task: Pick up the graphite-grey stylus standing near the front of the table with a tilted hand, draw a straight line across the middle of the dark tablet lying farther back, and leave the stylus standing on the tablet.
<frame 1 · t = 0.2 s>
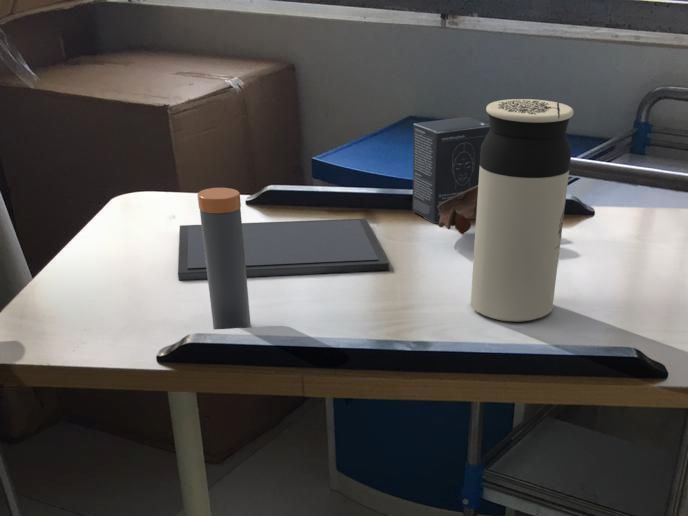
travel mug: (510, 310, 87), on the table
brown jagged lump: (489, 246, 102), on the table
stylus: (232, 328, 82), on the table
box: (448, 215, 112), on the table
tablet: (280, 250, 99), on the table
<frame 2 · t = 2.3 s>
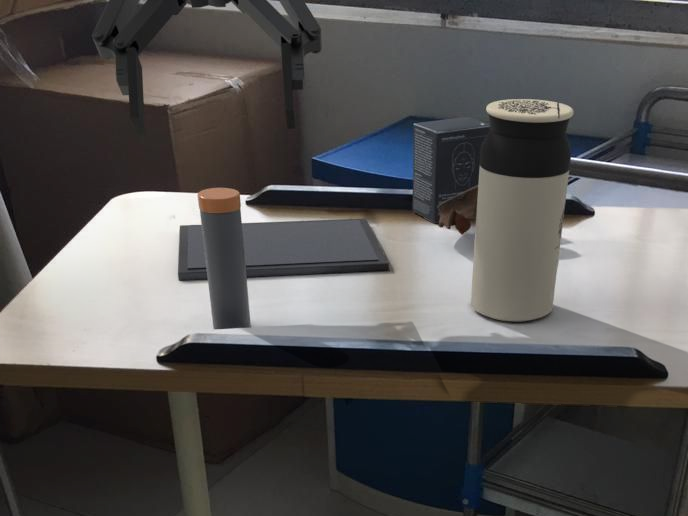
hand: (214, 123, 80), 16 cm above the table, tool tilted 45°, fingers open, 13 cm apart
nothing on the table moved.
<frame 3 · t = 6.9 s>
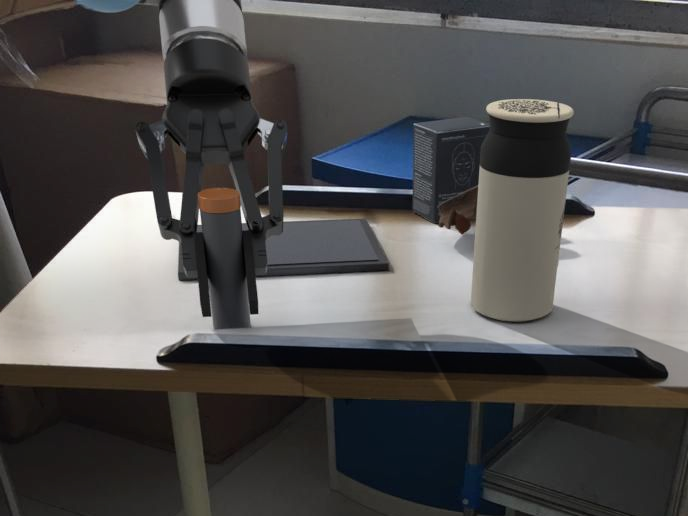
hand: (230, 308, 77), 3 cm above the table, tool tilted 45°, fingers closed on stylus, 3 cm apart
stylus: (232, 328, 82), on the table, touching gripper
everything else where it was.
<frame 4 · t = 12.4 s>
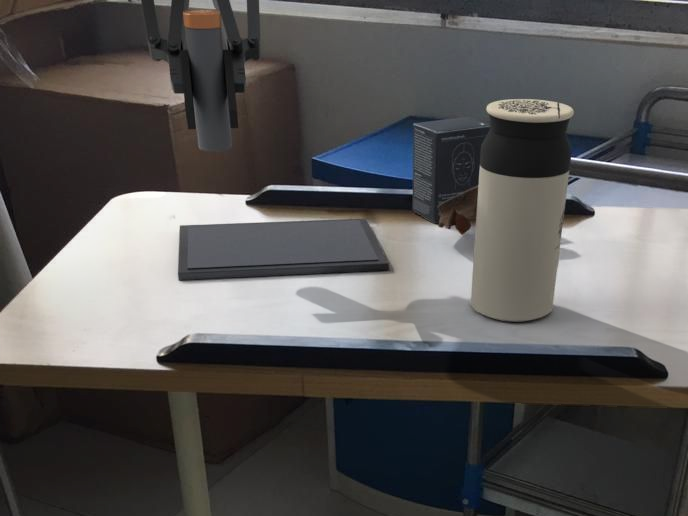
hand: (212, 119, 86), 14 cm above the table, tool tilted 45°, fingers closed on stylus, 3 cm apart
stylus: (215, 147, 91), point 11 cm above the table, touching gripper
everything else where it was.
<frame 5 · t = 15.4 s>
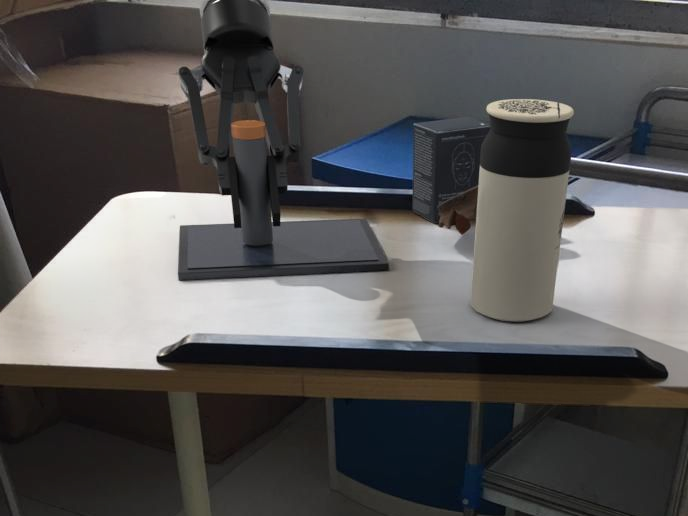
hand: (257, 220, 93), 5 cm above the table, tool tilted 45°, fingers closed on stylus, 3 cm apart
stylus: (257, 240, 98), point 1 cm above the table, touching gripper
everything else where it was.
when the fingers open (4 cm above the table, at t = 17.7 s): stylus stays where it is, resting on tablet.
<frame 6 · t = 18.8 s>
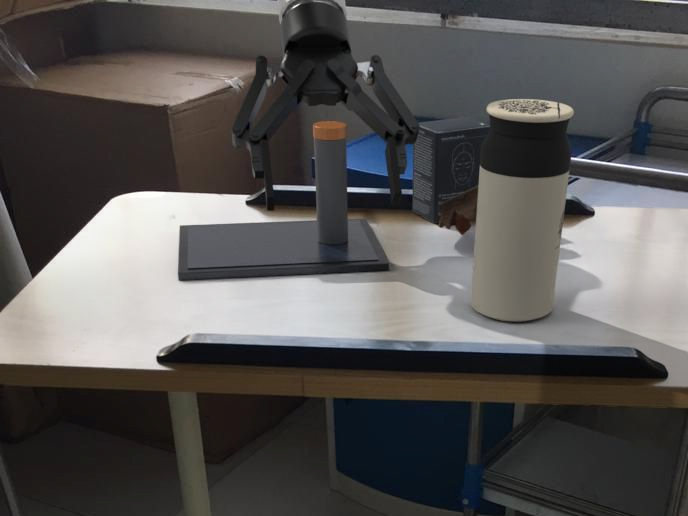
hand: (334, 202, 95), 6 cm above the table, tool tilted 45°, fingers open, 13 cm apart
stylus: (333, 240, 100), point 1 cm above the table, touching tablet
everything else where it was.
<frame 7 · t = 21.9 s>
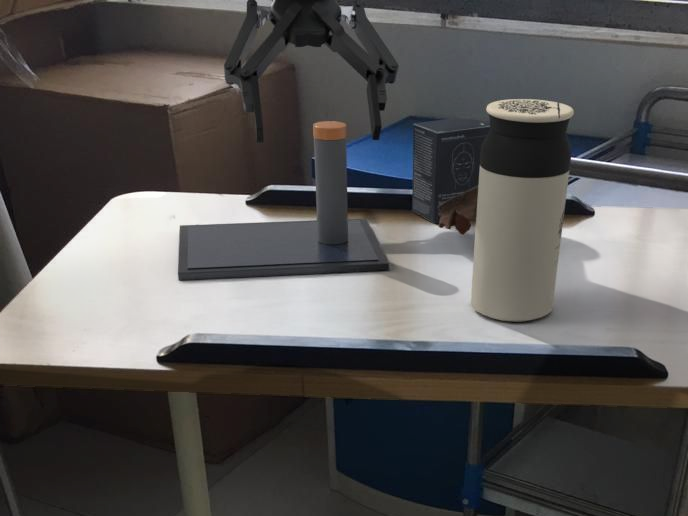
hand: (319, 134, 103), 10 cm above the table, tool tilted 45°, fingers open, 13 cm apart
nothing on the table moved.
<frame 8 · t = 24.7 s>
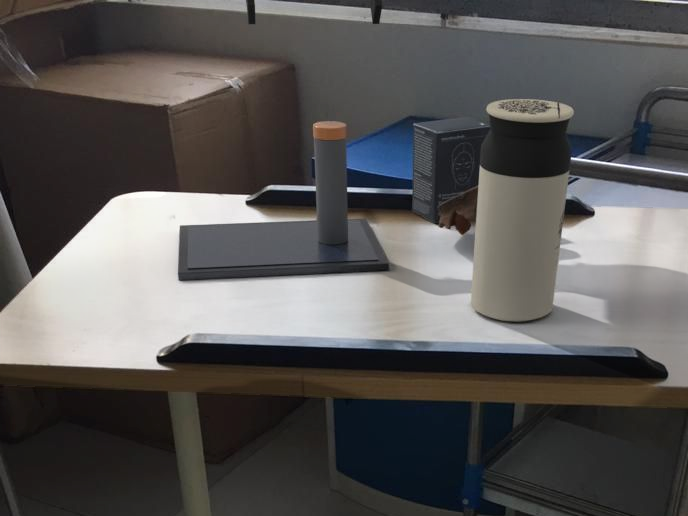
hand: (315, 15, 96), 22 cm above the table, tool tilted 45°, fingers open, 13 cm apart
nothing on the table moved.
at the end: stylus moved 24.2 cm from its start; stylus inside the target area on the tablet (6.0 cm from its centre), point 0.9 cm above the tablet's base; stylus tilted 0° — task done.
